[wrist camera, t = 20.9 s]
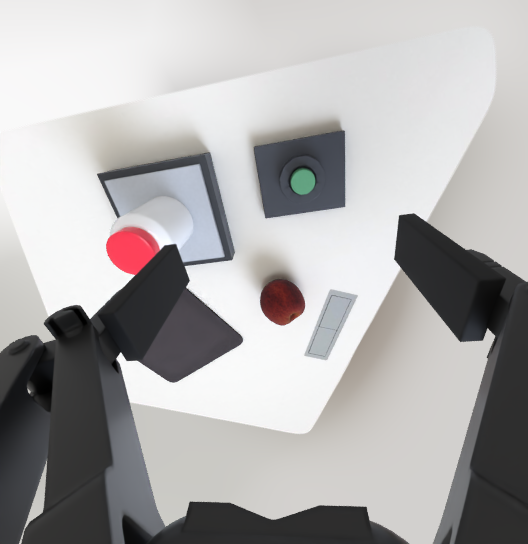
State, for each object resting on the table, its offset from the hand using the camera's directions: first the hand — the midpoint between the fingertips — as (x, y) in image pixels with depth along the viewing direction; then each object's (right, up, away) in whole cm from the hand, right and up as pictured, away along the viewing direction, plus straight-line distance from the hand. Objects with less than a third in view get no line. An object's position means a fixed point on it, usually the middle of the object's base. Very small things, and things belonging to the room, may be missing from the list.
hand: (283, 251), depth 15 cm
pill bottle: (-16, +6, +23) cm, 28 cm away
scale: (-15, +8, +26) cm, 31 cm away
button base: (+4, +13, +22) cm, 25 cm away
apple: (+2, -4, +32) cm, 32 cm away
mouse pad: (-21, -15, +40) cm, 48 cm away
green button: (+4, +11, +19) cm, 23 cm away
